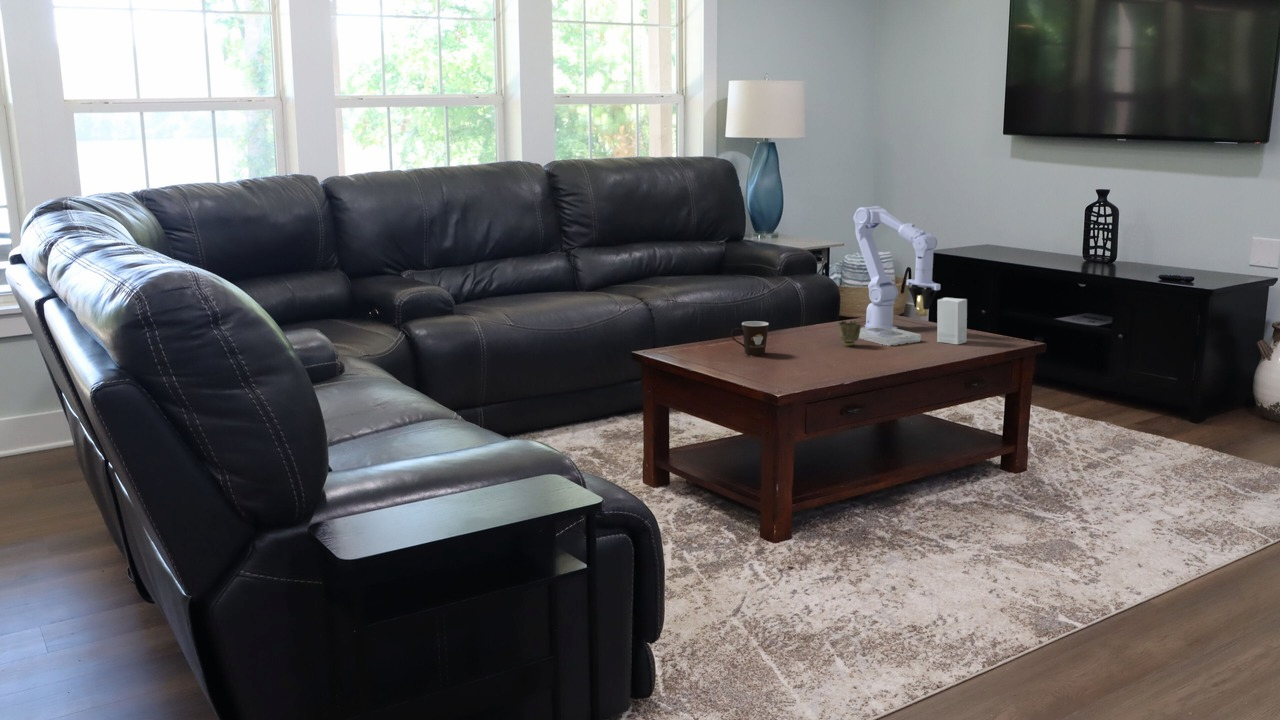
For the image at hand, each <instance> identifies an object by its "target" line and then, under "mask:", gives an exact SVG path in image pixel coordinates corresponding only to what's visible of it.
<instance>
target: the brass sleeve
mask: <svg viewBox="0 0 1280 720" xmlns="http://www.w3.org/2000/svg"><path fill="white" fill-rule="evenodd" d="M928 315H929V309H926V310H925V309H924V307H923V294H918V295H917V301H916V308H915V316H917V317H928Z"/></svg>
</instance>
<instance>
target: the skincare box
mask: <svg viewBox="0 0 1280 720" xmlns="http://www.w3.org/2000/svg"><path fill="white" fill-rule="evenodd" d="M936 313H937V314H936V315H937V316H936V317H937V318H936V319H937V320H936V321H937V322H936V323H937V326H936V327H937V328H936V330H937V331H936V332H937V335H936V339H937V340H936V342H937V343H945V344H951V345H962V344H965V343H967V341H968V339H967V334H968V331H967V329H968V328H967V327H968V326H967V325H968V324H967V323H968V320H967V319H968V299H967V298H956V297H955V298H954V297H942V298H938V299H937V311H936Z"/></svg>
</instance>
